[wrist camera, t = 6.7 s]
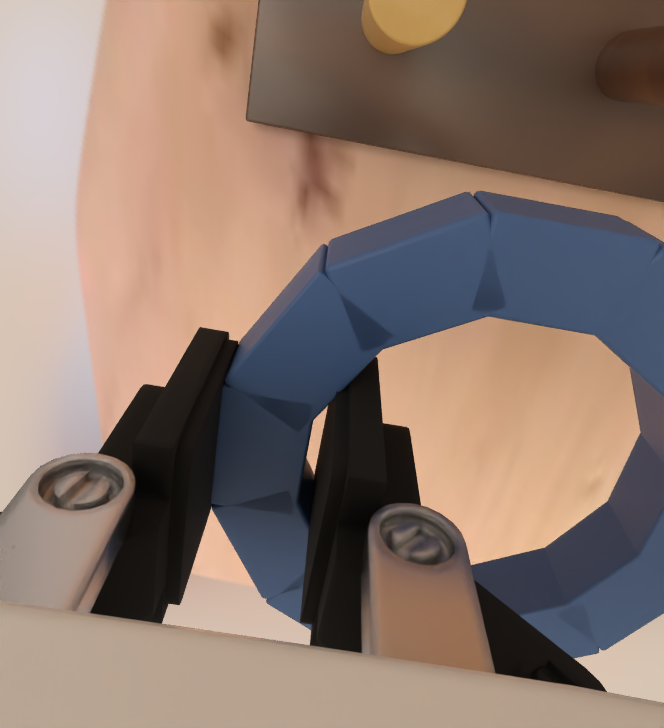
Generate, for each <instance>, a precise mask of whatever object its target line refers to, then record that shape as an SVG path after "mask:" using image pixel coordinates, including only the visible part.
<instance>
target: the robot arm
mask: <svg viewBox="0 0 664 728" xmlns="http://www.w3.org/2000/svg"><path fill="white" fill-rule="evenodd" d="M237 347H238V341H234V340H229V332H225V331H219V330H213V329H207V328H201V327H200V328H199V329H198V331H197V333H196V334H195V336H194V338H193V340H192V341H191V343H190V345H189V347H188V348H187V350H186V352H185V354H184V355H183V357H182V359H181V360H180V362H179V364H178V366H177V367H176V369H175V371H174V373H173V374H172V376H171V378H170V380H169V381H168V383H167V385H166V386H165V387H160V386H154V385H148V384H145V385H143V386H142V387H141V388H140V390H139V391H138V393H137V394H136V396H135V397H134V399H133V400H132V402H131V403H130V405H129V407H128V408H127V410H126V411H125V413H124V414H123V416H122V417H121V419H120V420H119V422H118V423H117V425H116V427H115V428H114V430H113V431H112V433H111V434H110V436H109V437H108V439H107V440H106V442H105V443H104V445H103V447H102V448H101V450H100V451H99V453H98V454H94V453H80V454H71V455H67V456H63V457H60V458H56V459H53V460H51V461H50V462H48V463H46V464H44V465H42V466H40V467H39V468H38V469H37V470H36V471H35V472H34V473H33V474H32V475H31V476H30V477H29V478H28V479H27V481H26V482H25V483H24V485H23V486H22V487H21V489H20V490H19V491H18V492H17V494H16V495H15V496H14V498H13V499H12V500H11V502H10V503H9V504H8V505H7V507H6V508H5V509H4V510H3V512H0V728H664V703H662V702H656V701H651V700H646V699H640V698H635V697H630V696H624V695H619V694H614V693H608V692H607V691H606V690H605V688H604V687H603V685H602V684H601V683H600V681H599V680H597V679H596V678H595V677H594V676H593V675H592V674H591V673H590V672H589V671H588V670H587V669H586V668H585V667H584V666H582V665H581V664H580V663H579V662H577V661H576V660H575V659H574V658H572V657H571V656H570V655H568V654H567V653H566V652H565V651H563V650H562V649H561V648H560V647H558V646H557V645H556V644H555V643H553V642H552V641H551V640H550V639H548V638H547V637H546V636H545V635H543V634H542V633H541V632H540V631H538V630H537V629H536V628H535V627H533V626H532V625H531V624H529V623H528V622H527V621H526V620H524V619H523V618H522V617H521V616H519V615H518V614H517V613H516V612H514V611H513V610H512V609H511V608H509V607H508V606H507V605H506V604H504V603H503V602H502V601H501V600H499V599H498V598H497V597H495V596H494V595H493V594H492V593H490V592H489V591H488V590H487V589H485V588H484V587H483V586H482V585H480V584H479V583H478V582H477V581H475V580H474V577H473V573H472V569H471V564H470V560H469V555H468V551H467V547H466V543H465V541H464V538H463V536H462V534H461V532H460V531H459V529H458V528H457V527H456V526H455V525H454V524H453V522H451V521H450V520H449V519H447V518H446V517H445V516H443V515H442V514H440V513H438V512H436V511H434V510H432V509H430V508H428V507H424V506H421V503H420V496H419V489H418V483H417V476H416V469H415V463H414V456H413V449H412V443H411V436H410V431H409V428H407V427H402V426H396V425H390V424H384V423H383V422H382V409H381V396H380V383H379V370H378V359H377V357H375V358H374V359H373V360H372V361H371V362H370V363H369V364H368V365H367V366H366V367H365V368H364V369H363V370H362V371H361V372H360V373H359V374H358V375H357V376H356V377H355V378H354V379H353V380H352V381H351V382H350V383H349V384H348V385H347V386H346V387H345V388H344V389H343V390H342V391H341V392H336V396H335V398H334V400H333V401H332V402H331V403H330V404H329V405H328V409H327V414H326V419H325V424H324V429H323V434H322V439H321V444H320V449H319V454H318V459H317V465H316V470H315V475H314V484H313V494H312V504H311V515H310V524H309V532H308V542H307V552H306V562H305V573H304V583H303V593H302V604H301V614H300V623H304V624H311V625H312V626H311V640H310V645H304V644H297V643H290V642H283V641H276V640H269V639H263V638H256V637H249V636H243V635H236V634H229V633H222V632H215V631H208V630H201V629H195V628H188V627H181V626H174V625H167V624H162V621H163V618H164V615H165V612H166V609H167V607H168V604H175V605H180V603H181V600H182V598H183V595H184V591H185V588H186V585H187V582H188V579H189V576H190V573H191V570H192V566H193V563H194V560H195V557H196V554H197V551H198V548H199V544H200V541H201V538H202V535H203V532H204V529H205V526H206V522H207V519H208V516H209V513H210V510H211V507H212V504H211V494H212V485H213V475H214V466H215V456H216V447H217V437H218V428H219V418H220V409H221V399H222V390H223V385H224V380H225V377H226V374H227V372H228V369H229V367H230V364H231V362H232V360H233V357H234V355H235V352H236V350H237Z"/></svg>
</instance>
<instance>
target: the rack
mask: <svg viewBox="0 0 664 728" xmlns="http://www.w3.org/2000/svg"><path fill="white" fill-rule="evenodd" d="M246 120H247V121H249V122H254V123H259V124H265V125H270V126H275V127H280V128H285V129H290V130H295V131H301V132H306V133H311V134H316V135H321V136H326V137H331V138H337V139H342V140H347V141H352V142H357V143H362V144H367V145H373V146H378V147H383V148H388V149H393V150H398V151H403V152H409V153H414V154H419V155H424V156H429V157H434V158H439V159H445V160H450V161H455V162H460V163H465V164H470V165H475V166H481V167H486V168H491V169H496V170H501V171H506V172H511V173H517V174H522V175H527V176H532V177H537V178H542V179H547V180H553V181H558V182H563V183H568V184H573V185H578V186H583V187H589V188H594V189H599V190H604V191H609V192H614V193H619V194H625V195H630V196H635V197H640V198H645V199H650V200H655V201H661V202H664V0H259V2H258V11H257V20H256V29H255V38H254V47H253V57H252V66H251V75H250V84H249V93H248V102H247V111H246Z"/></svg>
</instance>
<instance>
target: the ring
mask: <svg viewBox="0 0 664 728" xmlns="http://www.w3.org/2000/svg"><path fill="white" fill-rule="evenodd" d="M487 316H489V317H494V318H500V319H506V320H511V321H517V322H523V323H528V324H534V325H540V326H545V327H551V328H557V329H562V330H568V331H574V332H579V333H585V334H591V335H595V336H596V337H597V338H598V339H599V340H601V341H602V342H603V343H604V344H605V345H606V346H607V347H608V348H609V349H610V350H611V351H613V352H614V353H615V354H616V355H617V356H618V357H619V358H620V359H621V360H622V361H623V362H625V363H626V364H627V365H628V366H629V367H630V372H631V378H632V384H633V390H634V396H635V402H636V408H637V413H638V419H639V425H640V431H641V433H640V435H639V437H638V439H637V441H636V443H635V445H634V447H633V450H632V452H631V454H630V456H629V458H628V460H627V462H626V464H625V466H624V468H623V470H622V472H621V475H620V477H619V479H618V481H617V483H616V485H615V487H614V489H613V491H612V493H611V495H610V497H609V500H608V501H607V502H606V503H605V504H603V505H602V506H601V507H599V508H598V509H597V510H595V511H594V512H592V513H591V514H590V515H588V516H587V517H586V518H584V519H583V520H582V521H580V522H579V523H578V524H576V525H575V526H574V527H572V528H571V529H570V530H568V531H567V532H565V533H564V534H563V535H561V536H560V537H559V538H557V539H556V540H555V541H553V542H552V543H551V544H549V545H548V546H547V547H545V548H542V549H537V550H533V551H529V552H525V553H521V554H516V555H512V556H508V557H504V558H500V559H496V560H491V561H487V562H483V563H479V564H475V565H471V569H472V573H473V577H474V580H475V581H477V582H478V583H479V584H480V585H482V586H483V587H484V588H485V589H487V590H488V591H489V592H490V593H492V594H493V595H494V596H495V597H497V598H498V599H499V600H501V601H502V602H503V603H504V604H506V605H507V606H508V607H509V608H511V609H512V610H513V611H514V612H516V613H517V614H518V615H519V616H521V617H522V618H523V619H524V620H526V621H527V622H528V623H529V624H531V625H532V626H533V627H535V628H536V629H537V630H538V631H540V632H541V633H542V634H543V635H545V636H546V637H547V638H548V639H550V640H551V641H552V642H553V643H555V644H556V645H557V646H558V647H560V648H561V649H562V650H563V651H565V652H566V653H567V654H568V655H570V656H571V657H572V658H578V657H583V656H587V655H592V654H597V653H599V648H600V649H601V650H606V649H608V648H609V647H611V646H613V645H614V644H616V643H617V642H619V641H620V640H622V639H624V638H625V637H627V636H628V635H630V634H632V633H633V632H635V631H636V630H638V629H640V628H641V627H643V626H644V625H646V624H647V623H649V622H651V621H652V620H654V619H655V618H657V617H659V616H660V615H662V614H663V613H664V242H662V241H661V240H659V239H657V238H655V237H654V236H652V235H650V234H649V233H647V232H645V231H644V230H642V229H640V228H638V227H637V226H635V225H633V224H632V223H630V222H627V221H624V220H623V219H621V218H619V217H618V216H613V215H608V214H603V213H597V212H592V211H587V210H581V209H576V208H570V207H565V206H560V205H554V204H549V203H544V202H538V201H533V200H527V199H522V198H517V197H511V196H506V195H501V194H495V193H490V192H485V191H478V192H476V193H475V194H474V196H472V195H471V194H470V192H464V193H461V194H458V195H456V196H453V197H450V198H447V199H444V200H441V201H439V202H436V203H433V204H430V205H427V206H424V207H422V208H419V209H416V210H413V211H410V212H407V213H405V214H402V215H399V216H396V217H393V218H390V219H388V220H385V221H382V222H379V223H376V224H373V225H371V226H368V227H365V228H362V229H359V230H356V231H354V232H351V233H348V234H345V235H342V236H339V237H337V238H334V239H332V240H331V241H329V245H328V246H327V245H325V244H323V245H321V246H320V247H319V249H318V250H317V251H316V252H315V253H314V255H313V256H312V257H311V258H310V259H309V260H308V262H307V263H306V264H305V265H304V266H303V267H302V269H301V270H300V271H299V272H298V273H297V275H296V276H295V277H294V278H293V279H292V280H291V282H290V283H289V284H288V285H287V286H286V288H285V289H284V290H283V291H282V292H281V293H280V295H279V296H278V297H277V298H276V299H275V301H274V302H273V303H272V304H271V305H270V306H269V308H268V309H267V310H266V311H265V312H264V313H263V315H262V316H261V317H260V318H259V319H258V321H257V322H256V323H255V324H254V325H253V326H252V328H251V329H250V330H249V331H248V332H247V334H246V335H245V336H244V337H243V338H242V339H241V341H240V342H239V345H238V347H237V350H236V352H235V355H234V357H233V360H232V362H231V364H230V367H229V369H228V372H227V374H226V377H225V380H224V385H223V390H222V399H221V409H220V418H219V428H218V437H217V447H216V456H215V466H214V475H213V485H212V494H211V504H212V510H213V512H214V514H215V515H216V517H217V519H218V521H219V522H220V524H221V526H222V528H223V529H224V531H225V533H226V535H227V536H228V538H229V540H230V542H231V543H232V545H233V547H234V549H235V550H236V552H237V554H238V556H239V558H240V559H241V561H242V563H243V565H244V566H245V568H246V570H247V572H248V573H249V575H250V577H251V579H252V580H253V582H254V584H255V586H256V587H257V589H258V591H259V593H260V594H261V596H262V597H263V598H265V599H266V598H267V600H266V602H267V604H269V605H270V606H272V607H274V608H275V609H277V610H279V611H280V612H282V613H284V614H285V615H287V616H289V617H290V618H292V619H294V620H295V621H297V622H299V623H300V614H301V604H302V593H303V583H304V573H305V562H306V552H307V542H308V532H309V524H310V515H311V504H312V494H313V484H314V473H313V471H312V469H311V467H310V465H309V463H308V460H307V458H306V456H307V451H308V446H309V440H310V435H311V430H312V424H313V420H314V419H315V418H316V417H317V416H318V415H319V414H320V413H321V412H322V411H323V410H324V409H325V408H326V407H327V406H328V405H329V404H330V403H331V402H332V401H333V400H334V398H335V396H336V392H341V391H342V390H343V389H344V388H345V387H346V386H347V385H348V384H349V383H350V382H351V381H352V380H353V379H354V378H355V377H356V376H357V375H358V374H359V373H360V372H361V371H362V370H363V369H364V368H365V367H366V366H367V365H368V364H369V363H370V362H371V361H372V360H373V359H374V358H375V357H376V356H377V355H378V353H379V352H380V351H381V350H382V349H385V348H389V347H392V346H395V345H398V344H401V343H404V342H408V341H411V340H414V339H417V338H420V337H424V336H427V335H430V334H433V333H436V332H440V331H443V330H446V329H449V328H452V327H456V326H459V325H462V324H465V323H468V322H472V321H475V320H478V319H481V318H484V317H487ZM300 624H302V625H304V626H305V627H307V628H308V629H310V630H311V626H312V625H311V624H304V623H300Z"/></svg>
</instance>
